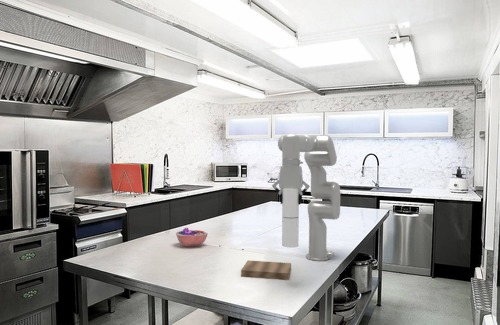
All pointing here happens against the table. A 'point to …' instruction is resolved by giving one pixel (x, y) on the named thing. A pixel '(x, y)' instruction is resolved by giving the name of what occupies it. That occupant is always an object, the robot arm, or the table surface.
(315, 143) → the robot arm
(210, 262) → the table surface
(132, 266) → the table surface
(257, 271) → the walnut base board
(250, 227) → the table surface
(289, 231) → the cylindrical container
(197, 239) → the cell model
